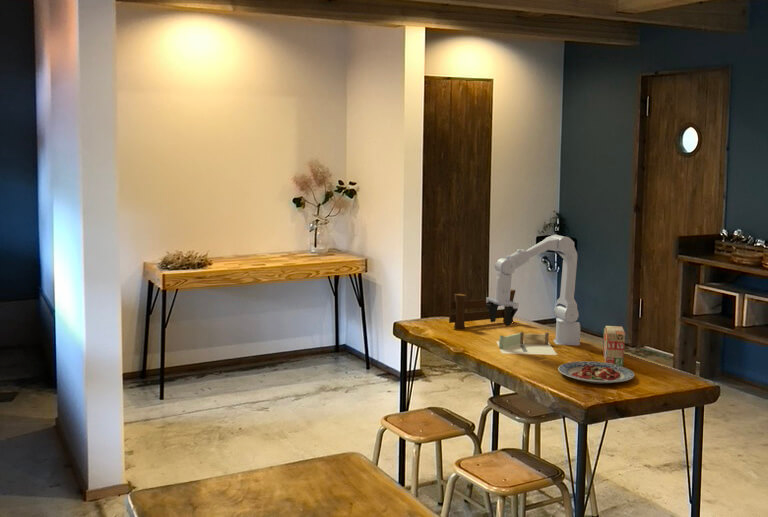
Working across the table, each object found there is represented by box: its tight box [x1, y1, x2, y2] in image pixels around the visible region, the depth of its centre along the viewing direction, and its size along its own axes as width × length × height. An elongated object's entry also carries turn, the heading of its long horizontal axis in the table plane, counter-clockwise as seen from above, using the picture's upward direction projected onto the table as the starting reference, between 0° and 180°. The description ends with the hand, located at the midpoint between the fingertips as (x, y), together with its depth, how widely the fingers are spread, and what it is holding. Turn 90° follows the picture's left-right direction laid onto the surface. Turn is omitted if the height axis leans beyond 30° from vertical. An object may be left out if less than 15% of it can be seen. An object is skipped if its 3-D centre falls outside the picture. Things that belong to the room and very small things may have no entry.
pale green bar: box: [498, 332, 521, 349], centre depth 337 cm, size 12×2×5 cm, turn 134°
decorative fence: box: [448, 289, 516, 330], centre depth 376 cm, size 34×6×15 cm, turn 120°
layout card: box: [495, 340, 558, 356], centre depth 336 cm, size 21×20×1 cm
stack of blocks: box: [602, 325, 626, 367], centre depth 324 cm, size 21×6×12 cm, turn 169°
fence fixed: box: [518, 331, 550, 345], centre depth 342 cm, size 12×2×5 cm, turn 89°
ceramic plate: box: [557, 360, 635, 385], centre depth 299 cm, size 26×26×3 cm
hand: (500, 323), depth 336 cm, fingers open, 7 cm apart
